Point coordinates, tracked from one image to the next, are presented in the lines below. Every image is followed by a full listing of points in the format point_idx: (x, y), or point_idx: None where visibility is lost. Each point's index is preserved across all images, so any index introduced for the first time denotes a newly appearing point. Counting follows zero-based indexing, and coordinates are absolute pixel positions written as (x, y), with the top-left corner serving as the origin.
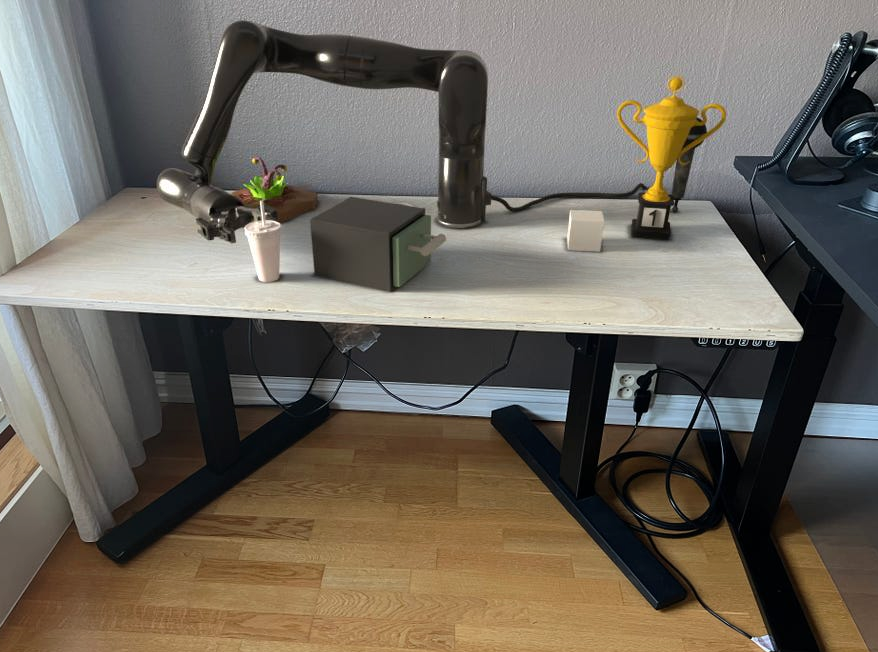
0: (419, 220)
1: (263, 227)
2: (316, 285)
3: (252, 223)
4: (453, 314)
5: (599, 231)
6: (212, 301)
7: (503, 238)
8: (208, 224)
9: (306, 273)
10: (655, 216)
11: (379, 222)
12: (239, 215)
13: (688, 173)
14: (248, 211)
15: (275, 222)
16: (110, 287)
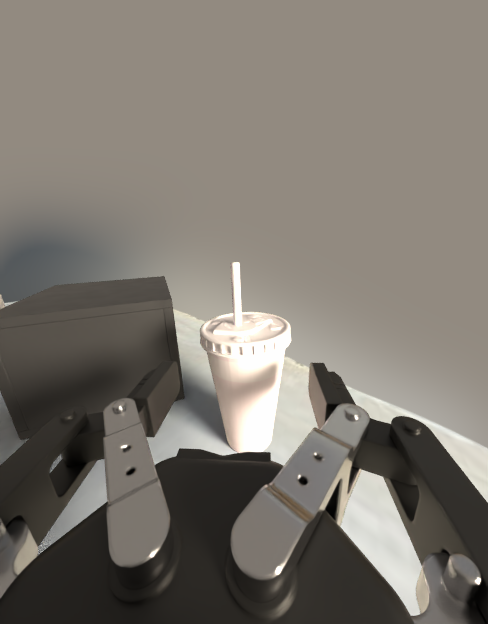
0: None
1: (250, 319)
2: (211, 378)
3: (252, 342)
4: (182, 316)
5: (3, 303)
6: (387, 417)
7: None
8: (416, 452)
9: (185, 411)
10: None
11: (135, 282)
12: (204, 474)
13: None
14: (149, 453)
15: (205, 328)
16: None
